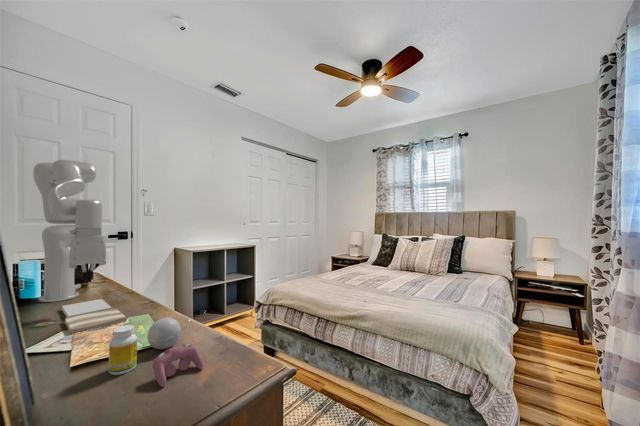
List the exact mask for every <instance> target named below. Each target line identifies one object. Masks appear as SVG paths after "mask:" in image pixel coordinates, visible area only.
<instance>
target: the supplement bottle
mask: <svg viewBox="0 0 640 426" xmlns="http://www.w3.org/2000/svg"><path fill="white" fill-rule="evenodd" d="M134 332H135V327H134V325H132V324H131V325H130V324H127V325H122V326H117V327H115V328H114V329H113V330H112V337H113V338H111V339H110V341H109V344H108V347H109V348H108V373H109V374H110V375H114V376H119V375H123V374H127V373H129V372H131V371H133V370H134V369H135V368H136V366H137V363H138V362H137V360H138V358H137V357H138V355H137V353H138V336H137V334H135V333H134Z"/></svg>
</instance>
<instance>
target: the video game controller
mask: <svg viewBox="0 0 640 426" xmlns="http://www.w3.org/2000/svg"><path fill="white" fill-rule="evenodd" d="M178 360H179V361H178ZM177 361H178V365H177V366H178V369H179V370H180V372H181V371H182V372H183V371H186V370H188V369H189V368H190V365H191V362H192V363H193V364H194V365H195V367H196V368H197V369H198V370H201V371H202V370H203V368H204V360H203V359H202V357H201V354H200V352H199V351H198V349H197V348H196V346H194V345H193V344H191V343H190V344H188V343H187V344H180V345H177V346H172V347H169V348H167V349H166V350H165V351H163V352H161V353H160V354H158V356H156V357H155V358H154V359H153V361H152V364H151V365H152V370H153V373H154V376H155V379H156V382H157V384H158V385H159V387H161V388H164V387H165V386H166V383H167V378H170V377H172V376H174V375H175V374H176V372H177V367H176V366H175V365H174V364H173V363H174V362H177Z"/></svg>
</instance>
